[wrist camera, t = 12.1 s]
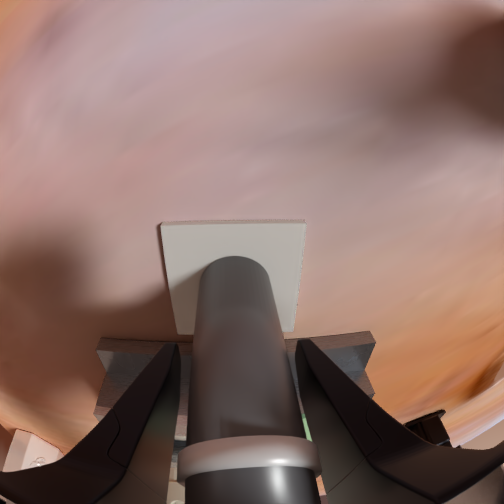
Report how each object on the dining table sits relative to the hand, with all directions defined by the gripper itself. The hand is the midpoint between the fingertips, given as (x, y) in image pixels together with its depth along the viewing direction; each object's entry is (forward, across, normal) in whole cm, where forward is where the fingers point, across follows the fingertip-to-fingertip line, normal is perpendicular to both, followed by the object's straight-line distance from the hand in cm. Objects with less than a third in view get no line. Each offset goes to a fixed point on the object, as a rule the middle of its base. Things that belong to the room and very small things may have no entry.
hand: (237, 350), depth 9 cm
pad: (+4, 0, 0) cm, 4 cm away
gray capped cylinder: (+4, 0, 0) cm, 4 cm away
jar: (+4, +30, +30) cm, 43 cm away
